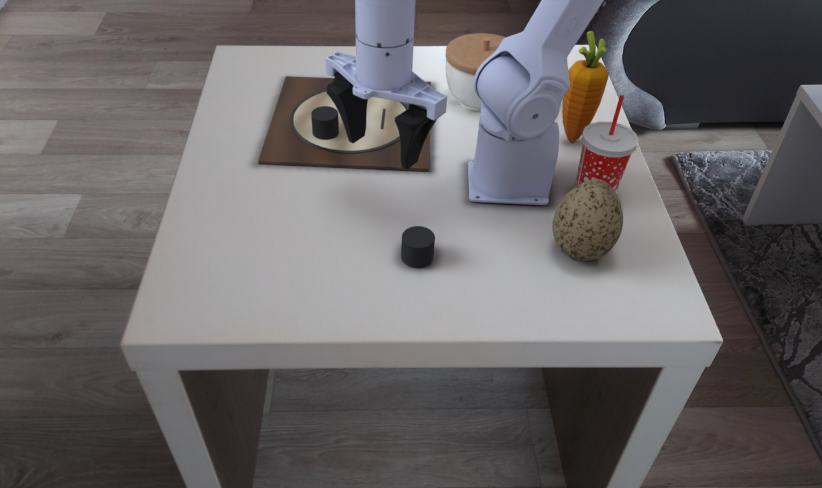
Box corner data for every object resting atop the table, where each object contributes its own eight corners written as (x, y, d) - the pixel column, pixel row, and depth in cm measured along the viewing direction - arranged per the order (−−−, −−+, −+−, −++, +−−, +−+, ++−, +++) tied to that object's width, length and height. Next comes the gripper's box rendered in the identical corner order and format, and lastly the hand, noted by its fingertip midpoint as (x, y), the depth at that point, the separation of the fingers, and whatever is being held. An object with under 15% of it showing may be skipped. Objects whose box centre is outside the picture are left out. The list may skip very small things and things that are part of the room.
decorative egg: (621, 273, 75) (647, 201, 68) (556, 277, 75) (576, 205, 68) (599, 230, 80) (621, 158, 73) (538, 234, 80) (555, 162, 73)
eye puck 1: (340, 125, 95) (339, 106, 93) (337, 140, 93) (336, 121, 90) (314, 124, 95) (313, 105, 93) (310, 139, 93) (309, 119, 91)
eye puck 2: (433, 246, 78) (435, 226, 76) (433, 268, 76) (434, 248, 74) (401, 245, 79) (402, 225, 77) (400, 267, 76) (401, 246, 74)
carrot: (591, 155, 91) (620, 47, 80) (552, 151, 92) (576, 43, 81) (589, 134, 94) (617, 28, 84) (552, 130, 95) (575, 25, 85)
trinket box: (436, 115, 98) (441, 53, 91) (447, 78, 105) (453, 18, 99) (512, 124, 96) (523, 61, 90) (518, 86, 104) (529, 25, 97)
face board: (430, 84, 104) (431, 80, 104) (428, 171, 88) (428, 167, 88) (286, 79, 105) (285, 75, 105) (258, 164, 90) (257, 159, 89)
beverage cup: (626, 212, 83) (661, 108, 73) (577, 217, 82) (606, 113, 72) (606, 181, 87) (636, 79, 77) (559, 186, 86) (584, 84, 76)
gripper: (302, 27, 69) (310, 143, 78) (419, 73, 62) (412, 194, 72) (349, 4, 73) (351, 117, 82) (464, 45, 66) (452, 163, 75)
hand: (382, 151), depth 77 cm, fingers open, 7 cm apart
